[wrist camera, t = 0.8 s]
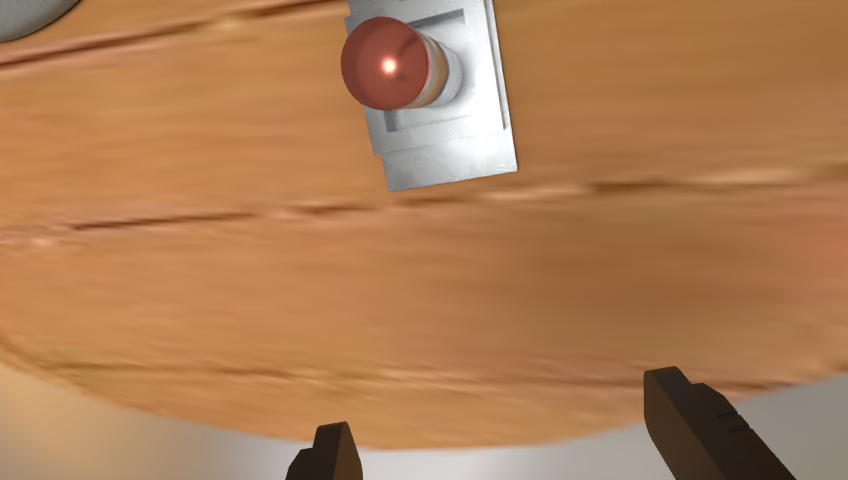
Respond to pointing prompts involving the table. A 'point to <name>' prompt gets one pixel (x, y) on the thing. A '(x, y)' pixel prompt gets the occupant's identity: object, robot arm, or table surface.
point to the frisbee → (28, 16)
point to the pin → (398, 66)
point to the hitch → (457, 119)
